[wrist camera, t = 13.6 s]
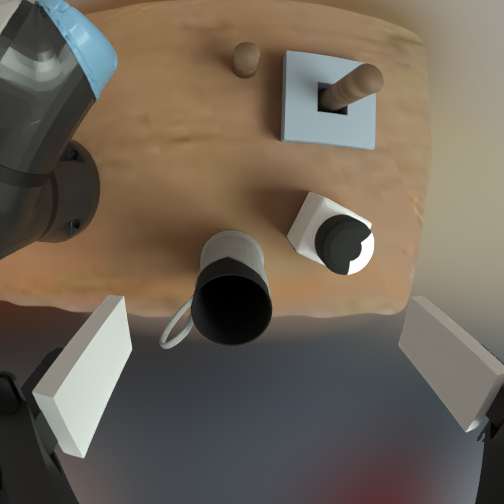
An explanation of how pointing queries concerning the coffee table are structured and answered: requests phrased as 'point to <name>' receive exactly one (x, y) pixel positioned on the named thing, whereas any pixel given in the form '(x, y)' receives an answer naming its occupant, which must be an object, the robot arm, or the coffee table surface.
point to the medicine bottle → (331, 235)
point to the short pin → (245, 59)
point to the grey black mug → (227, 292)
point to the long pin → (351, 88)
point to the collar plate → (306, 100)
